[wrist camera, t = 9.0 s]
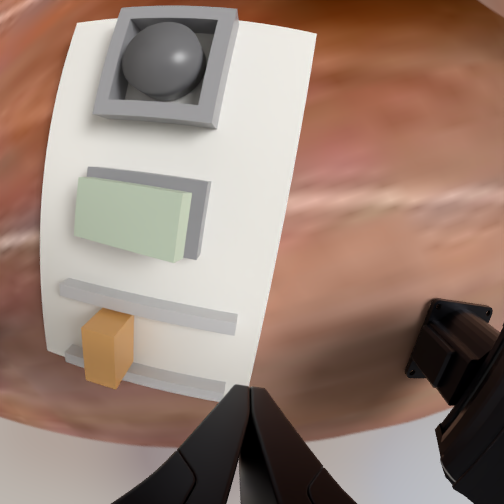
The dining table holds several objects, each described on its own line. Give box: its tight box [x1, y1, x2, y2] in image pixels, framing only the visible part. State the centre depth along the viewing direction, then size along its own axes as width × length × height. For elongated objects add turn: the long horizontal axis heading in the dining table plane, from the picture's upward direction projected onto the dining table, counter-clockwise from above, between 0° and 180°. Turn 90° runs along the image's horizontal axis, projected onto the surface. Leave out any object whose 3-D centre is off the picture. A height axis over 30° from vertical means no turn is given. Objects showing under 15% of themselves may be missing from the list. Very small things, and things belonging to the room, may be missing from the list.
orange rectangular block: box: [81, 308, 134, 389], centre depth 17 cm, size 2×4×3 cm, turn 170°
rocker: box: [74, 177, 192, 263], centre depth 14 cm, size 6×3×1 cm, turn 80°
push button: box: [122, 22, 206, 101], centre depth 14 cm, size 4×4×2 cm
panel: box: [40, 6, 317, 402], centre depth 17 cm, size 15×23×4 cm, turn 170°
